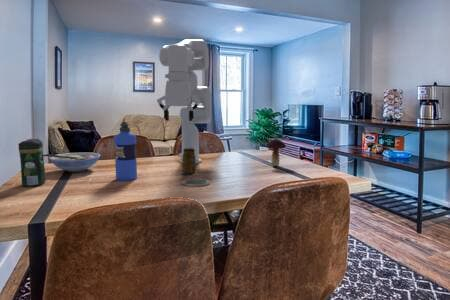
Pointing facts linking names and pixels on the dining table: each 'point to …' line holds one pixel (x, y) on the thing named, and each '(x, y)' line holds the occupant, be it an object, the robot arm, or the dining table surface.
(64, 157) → the ramen bowl
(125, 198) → the dining table surface
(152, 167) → the dining table surface
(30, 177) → the coffee jar
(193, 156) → the condiment
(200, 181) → the coaster
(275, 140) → the decorative mushroom
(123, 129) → the water bottle
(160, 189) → the dining table surface
